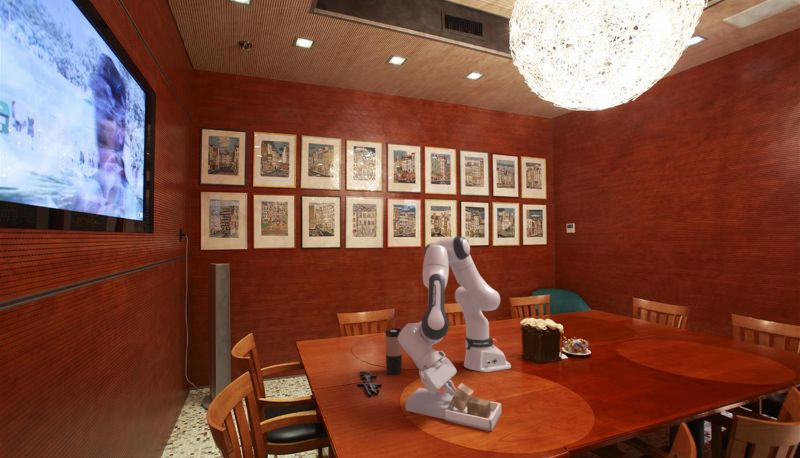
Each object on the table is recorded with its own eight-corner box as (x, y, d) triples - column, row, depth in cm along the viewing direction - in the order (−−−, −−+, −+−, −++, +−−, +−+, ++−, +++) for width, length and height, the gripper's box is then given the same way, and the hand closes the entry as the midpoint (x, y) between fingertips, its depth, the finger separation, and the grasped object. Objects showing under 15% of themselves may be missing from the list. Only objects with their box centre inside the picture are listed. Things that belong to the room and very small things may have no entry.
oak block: (449, 403, 133) (457, 387, 131) (454, 398, 136) (461, 382, 135) (461, 412, 130) (469, 395, 129) (466, 407, 134) (473, 391, 133)
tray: (445, 420, 128) (445, 410, 128) (459, 404, 141) (458, 395, 141) (491, 431, 121) (491, 420, 121) (501, 413, 133) (501, 403, 133)
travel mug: (400, 375, 172) (399, 332, 173) (384, 374, 173) (383, 331, 174) (403, 369, 179) (402, 328, 180) (388, 369, 181) (387, 327, 182)
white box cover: (405, 410, 137) (405, 399, 137) (419, 397, 147) (419, 387, 147) (446, 419, 129) (446, 408, 129) (458, 405, 140) (457, 395, 140)
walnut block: (467, 401, 130) (486, 405, 126) (471, 396, 134) (490, 400, 130) (467, 416, 130) (487, 420, 126) (471, 410, 134) (490, 415, 130)
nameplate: (352, 372, 174) (372, 369, 177) (352, 375, 174) (372, 373, 177) (362, 395, 148) (387, 392, 151) (362, 399, 148) (387, 396, 151)
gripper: (422, 365, 129) (449, 399, 124) (444, 350, 147) (468, 379, 142) (411, 376, 131) (437, 410, 126) (434, 359, 149) (458, 388, 144)
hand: (454, 393), depth 134 cm, fingers closed, pressing on oak block
